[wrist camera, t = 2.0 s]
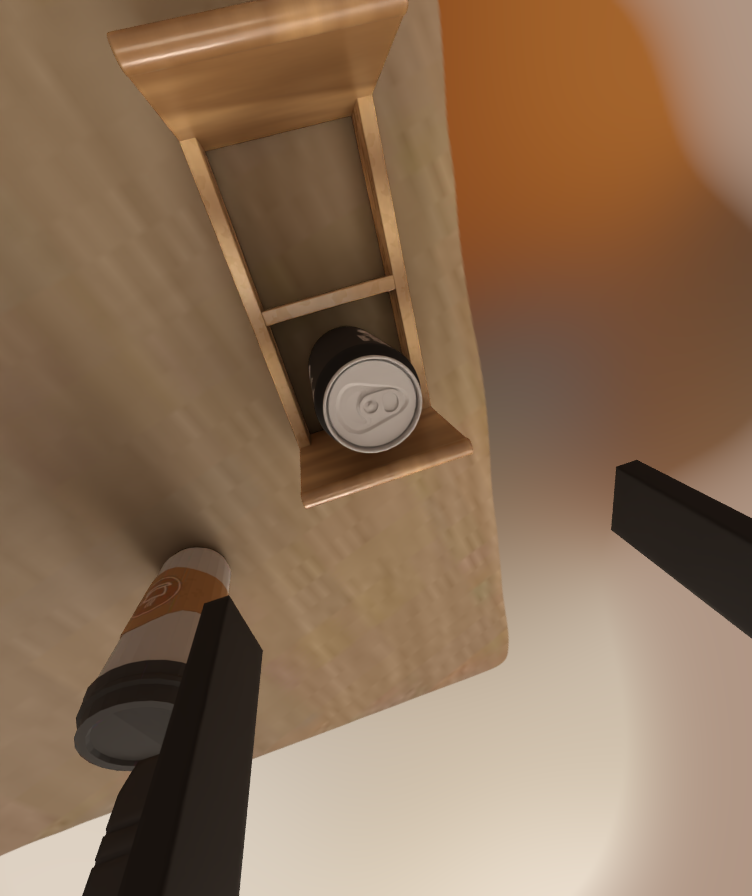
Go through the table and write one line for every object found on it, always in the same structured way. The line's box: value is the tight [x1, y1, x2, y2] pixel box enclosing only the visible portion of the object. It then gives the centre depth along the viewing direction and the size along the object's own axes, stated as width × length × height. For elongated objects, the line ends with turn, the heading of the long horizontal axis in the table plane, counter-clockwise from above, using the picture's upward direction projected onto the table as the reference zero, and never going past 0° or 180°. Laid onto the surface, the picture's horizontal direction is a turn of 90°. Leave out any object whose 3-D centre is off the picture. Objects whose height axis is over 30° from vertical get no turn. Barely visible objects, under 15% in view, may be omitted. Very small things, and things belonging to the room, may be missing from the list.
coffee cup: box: [74, 547, 231, 771], centre depth 29 cm, size 8×8×15 cm
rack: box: [107, 0, 473, 509], centre depth 24 cm, size 23×12×11 cm, turn 14°
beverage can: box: [308, 327, 422, 453], centre depth 25 cm, size 7×7×12 cm
